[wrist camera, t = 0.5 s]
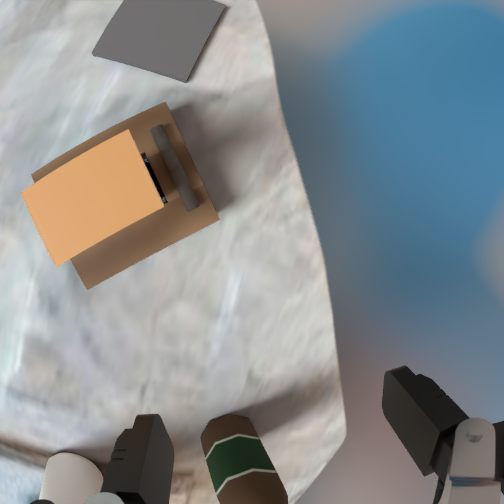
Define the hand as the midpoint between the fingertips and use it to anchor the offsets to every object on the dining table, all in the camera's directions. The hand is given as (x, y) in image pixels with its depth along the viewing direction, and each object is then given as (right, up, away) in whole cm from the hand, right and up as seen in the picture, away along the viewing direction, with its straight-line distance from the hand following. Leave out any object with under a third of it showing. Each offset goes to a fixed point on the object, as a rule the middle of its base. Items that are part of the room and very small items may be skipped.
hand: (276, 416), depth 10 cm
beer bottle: (-4, -19, +29) cm, 35 cm away
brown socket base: (-13, +11, +20) cm, 27 cm away
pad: (-11, +30, +17) cm, 36 cm away
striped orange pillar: (-13, +11, +20) cm, 27 cm away
